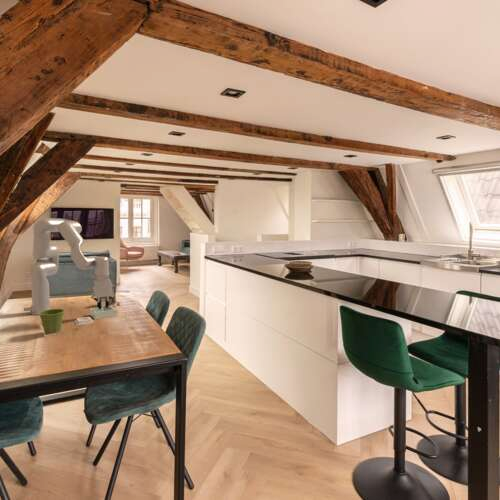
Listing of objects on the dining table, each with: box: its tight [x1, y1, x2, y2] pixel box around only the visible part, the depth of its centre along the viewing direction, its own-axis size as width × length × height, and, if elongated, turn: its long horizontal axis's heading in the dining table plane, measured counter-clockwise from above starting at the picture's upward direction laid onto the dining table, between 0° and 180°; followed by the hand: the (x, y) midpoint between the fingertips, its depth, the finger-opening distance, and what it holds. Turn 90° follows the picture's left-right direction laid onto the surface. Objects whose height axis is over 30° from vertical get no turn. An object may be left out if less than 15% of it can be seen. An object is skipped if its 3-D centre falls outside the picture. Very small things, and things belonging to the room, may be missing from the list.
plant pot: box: [38, 308, 66, 336], centre depth 185 cm, size 12×12×11 cm
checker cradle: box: [73, 316, 95, 326], centre depth 203 cm, size 9×9×2 cm
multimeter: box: [109, 274, 121, 308], centre depth 247 cm, size 15×10×20 cm
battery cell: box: [100, 297, 106, 311], centre depth 216 cm, size 4×4×10 cm
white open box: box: [89, 305, 117, 320], centre depth 216 cm, size 12×12×5 cm
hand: (103, 307), depth 216 cm, fingers closed on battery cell, 3 cm apart
